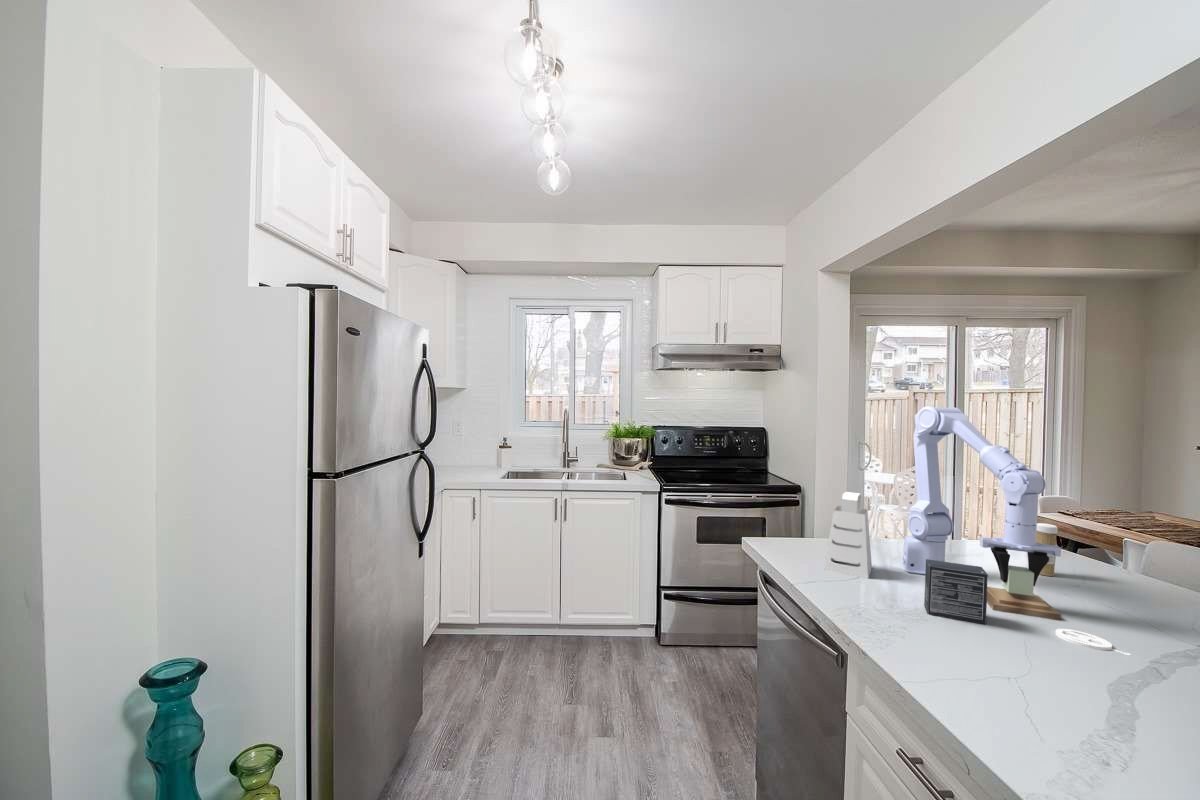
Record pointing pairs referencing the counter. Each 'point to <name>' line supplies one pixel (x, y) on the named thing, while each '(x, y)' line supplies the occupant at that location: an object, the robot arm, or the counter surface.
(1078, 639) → the pendant
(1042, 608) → the walnut base
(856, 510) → the grater
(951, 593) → the small box
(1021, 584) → the sage block
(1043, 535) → the sprinkles bottle
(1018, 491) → the robot arm
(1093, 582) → the counter surface
